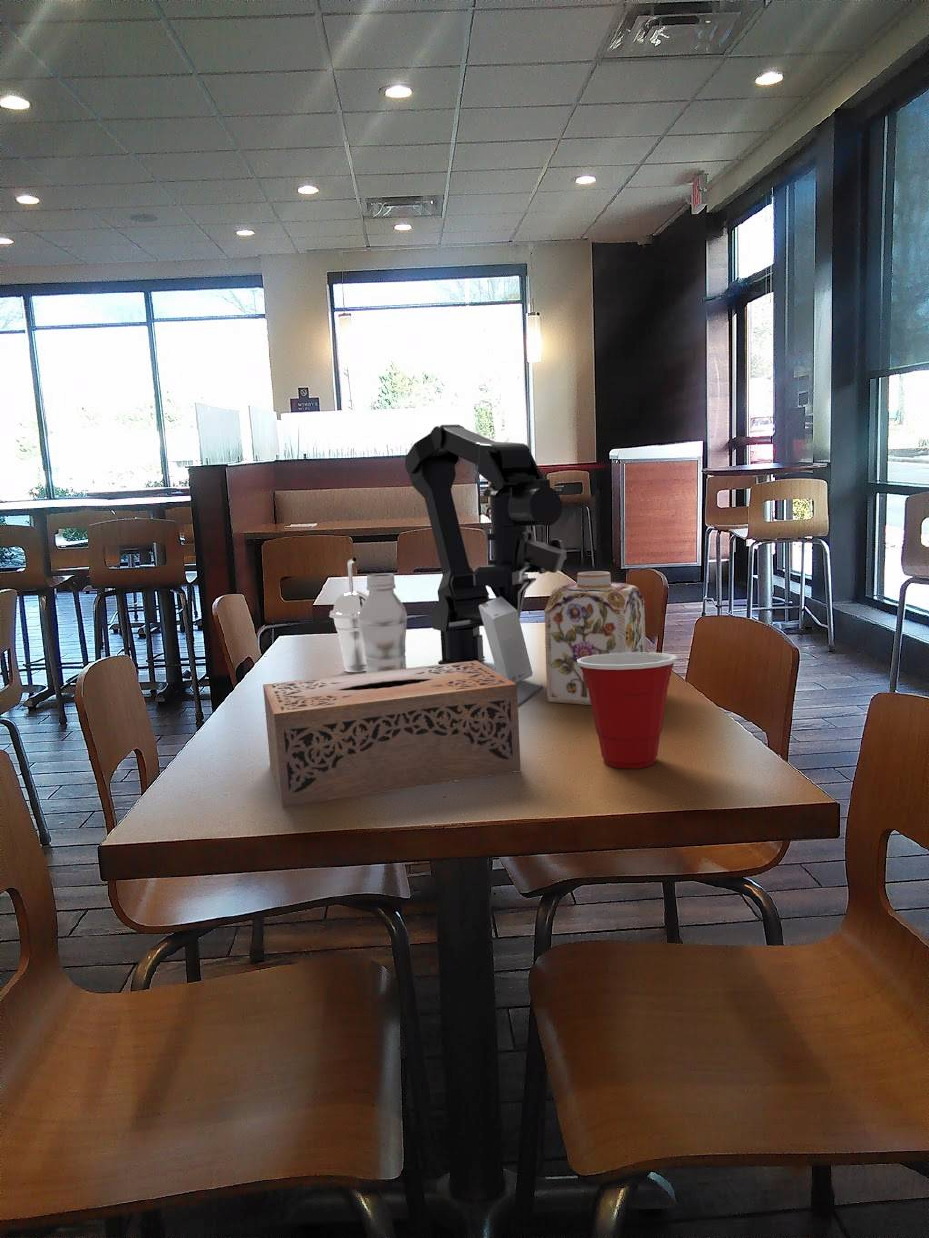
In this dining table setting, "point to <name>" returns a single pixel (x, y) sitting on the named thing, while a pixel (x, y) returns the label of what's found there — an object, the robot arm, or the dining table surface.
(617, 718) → the plastic cup
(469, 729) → the tissue box cover
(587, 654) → the decorative jar
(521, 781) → the dining table surface
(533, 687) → the mat
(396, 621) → the plastic bottle
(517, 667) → the skincare box
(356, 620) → the cup with straw
